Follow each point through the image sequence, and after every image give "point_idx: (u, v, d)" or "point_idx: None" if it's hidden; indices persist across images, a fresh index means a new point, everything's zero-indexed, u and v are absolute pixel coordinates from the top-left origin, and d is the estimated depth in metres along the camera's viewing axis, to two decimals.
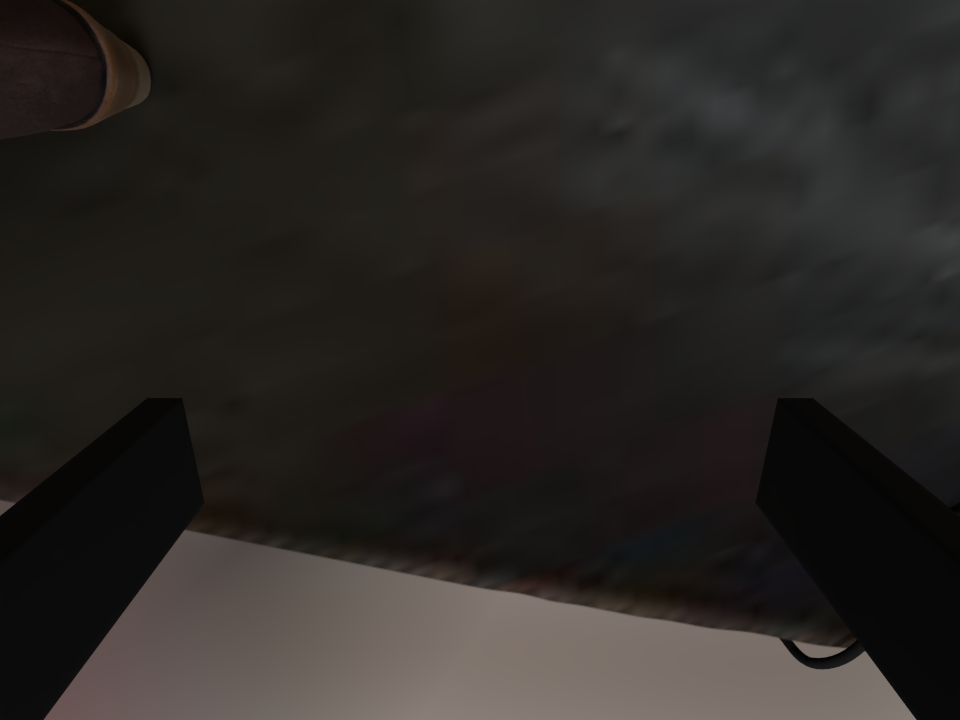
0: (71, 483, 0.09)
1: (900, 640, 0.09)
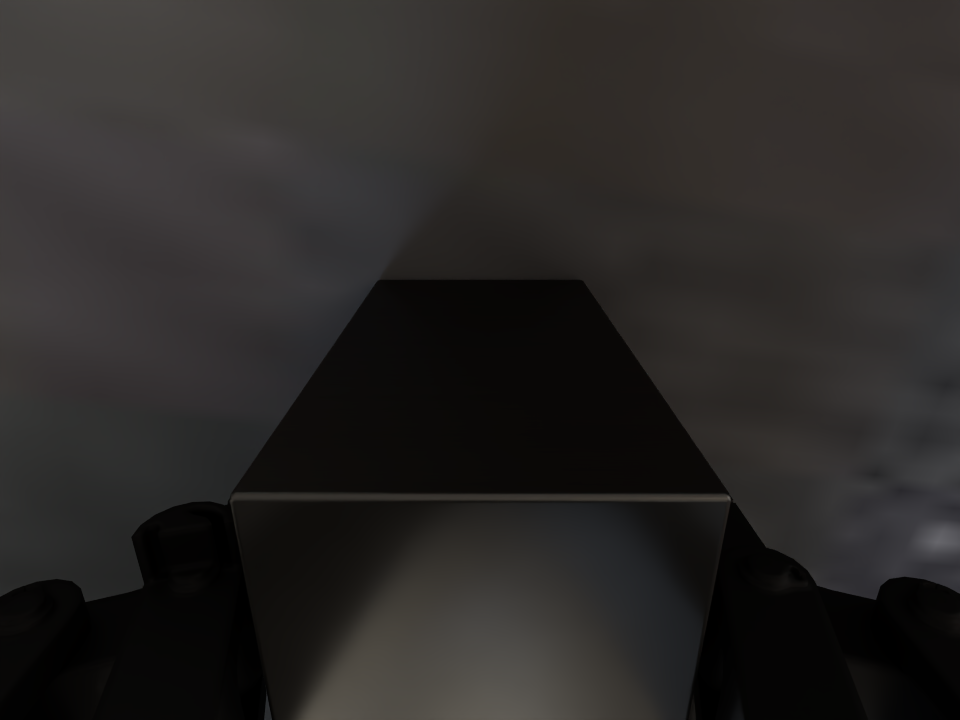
0: None
1: None
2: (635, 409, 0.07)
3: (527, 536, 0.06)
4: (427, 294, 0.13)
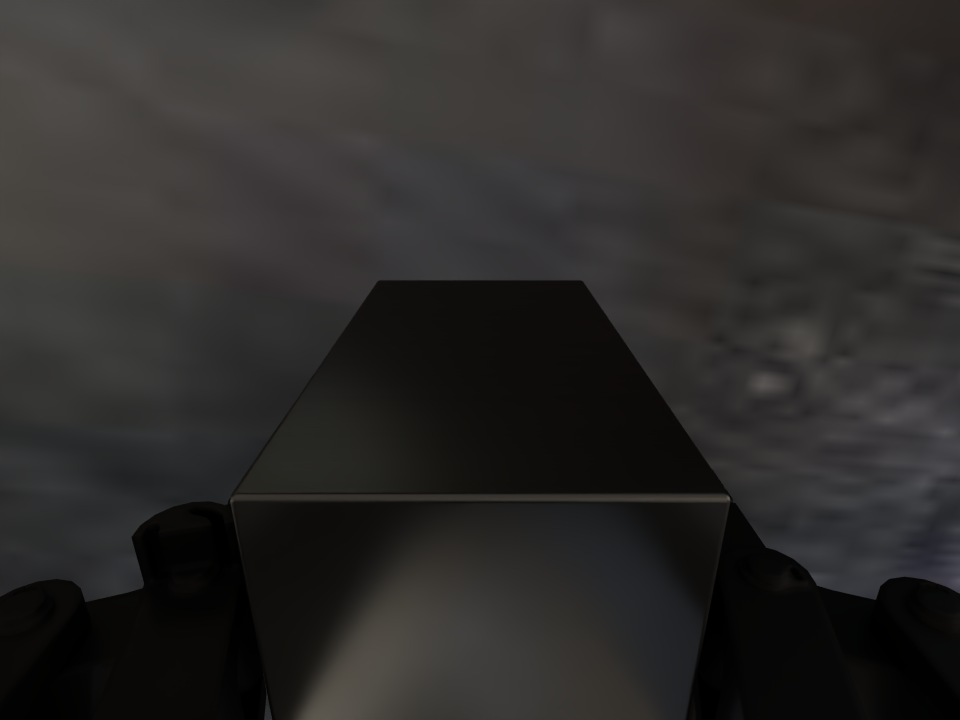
0: None
1: None
2: (635, 410, 0.07)
3: (526, 538, 0.06)
4: (427, 294, 0.13)
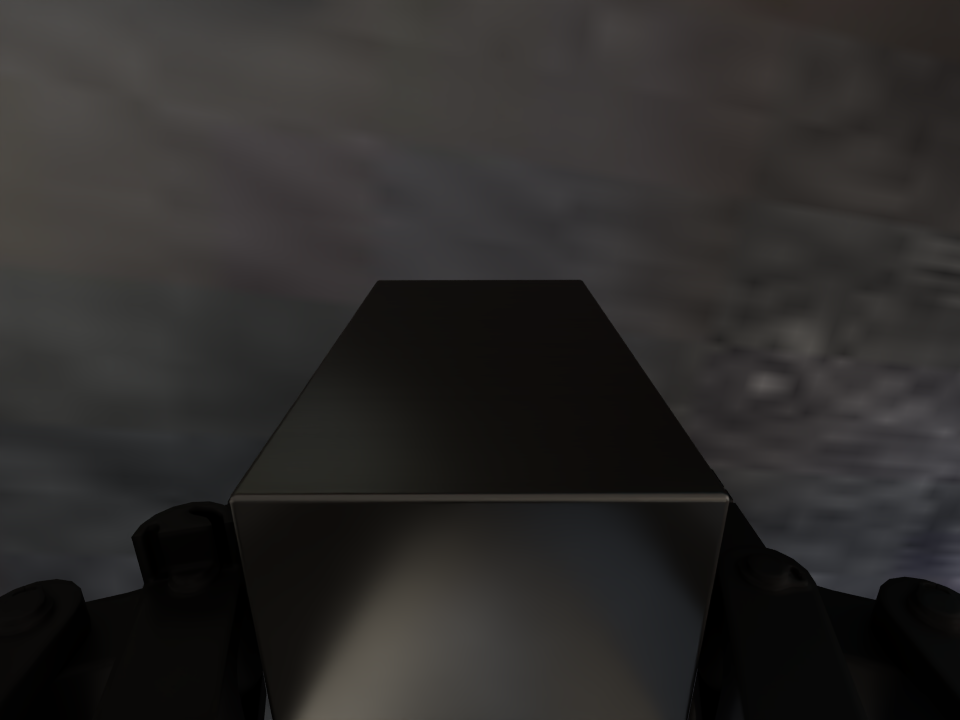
0: None
1: None
2: (634, 409, 0.07)
3: (525, 536, 0.06)
4: (427, 294, 0.13)
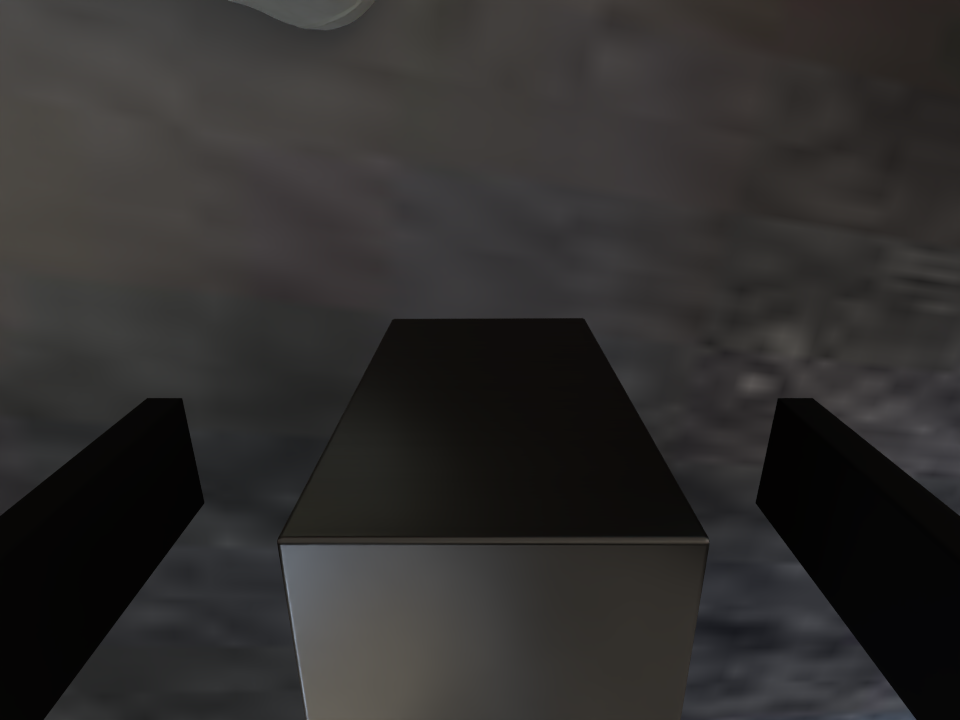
0: (71, 483, 0.09)
1: (900, 640, 0.09)
2: (629, 455, 0.08)
3: (533, 573, 0.07)
4: (439, 334, 0.14)
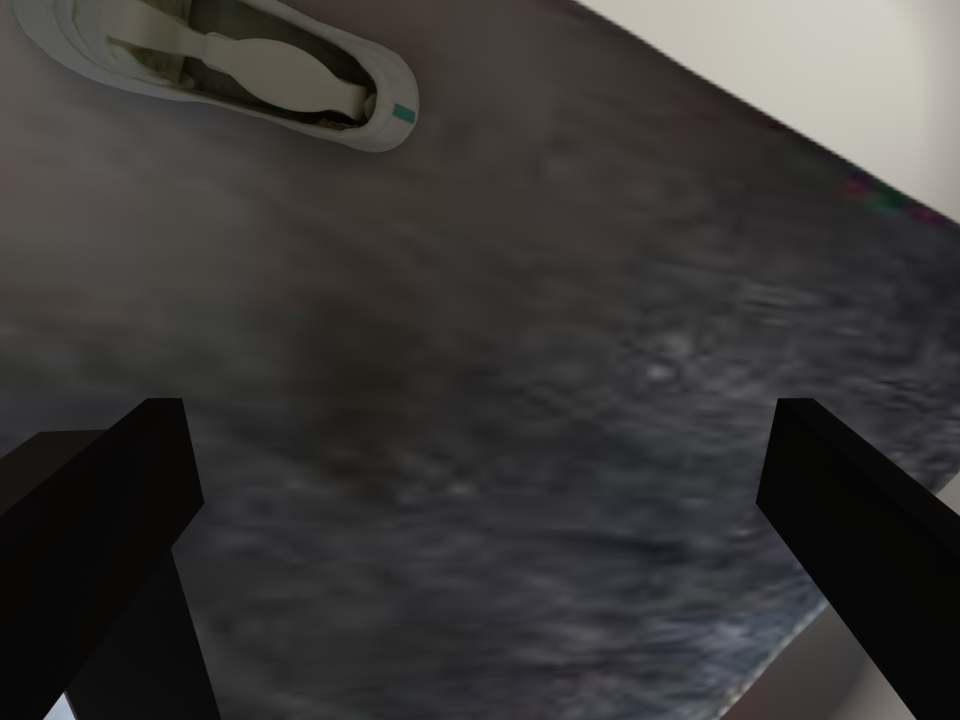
0: (71, 483, 0.09)
1: (900, 640, 0.09)
2: None
3: None
4: (46, 443, 0.28)
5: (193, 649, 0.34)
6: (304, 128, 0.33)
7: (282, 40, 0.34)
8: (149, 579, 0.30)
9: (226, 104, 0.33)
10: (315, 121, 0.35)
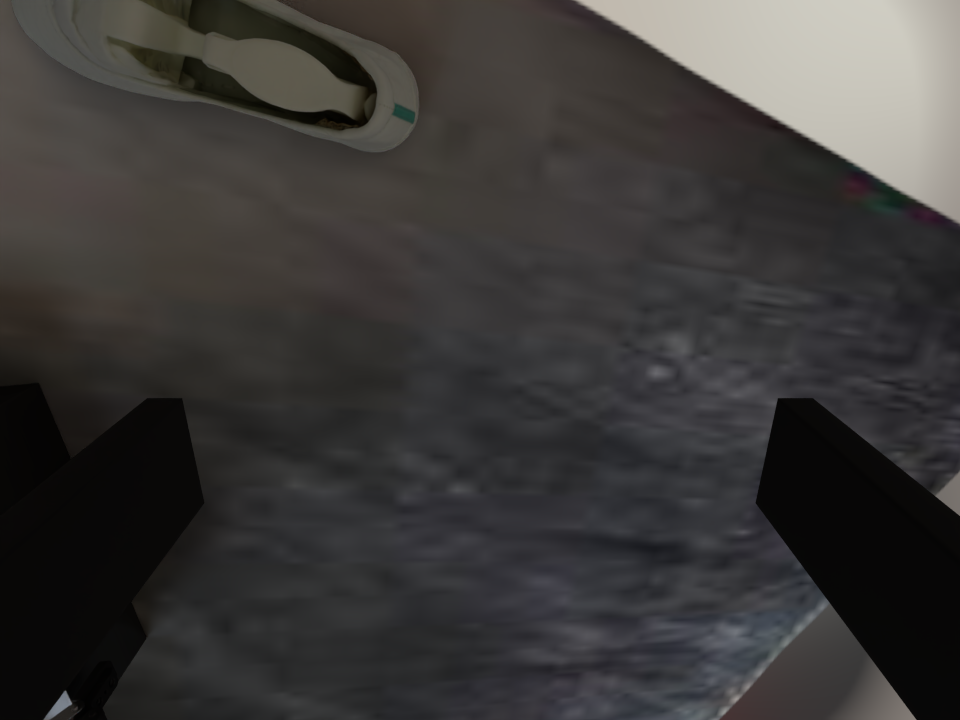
0: (71, 483, 0.09)
1: (900, 640, 0.09)
2: None
3: None
4: None
5: None
6: (304, 128, 0.33)
7: (282, 40, 0.34)
8: None
9: (226, 104, 0.33)
10: (315, 121, 0.35)
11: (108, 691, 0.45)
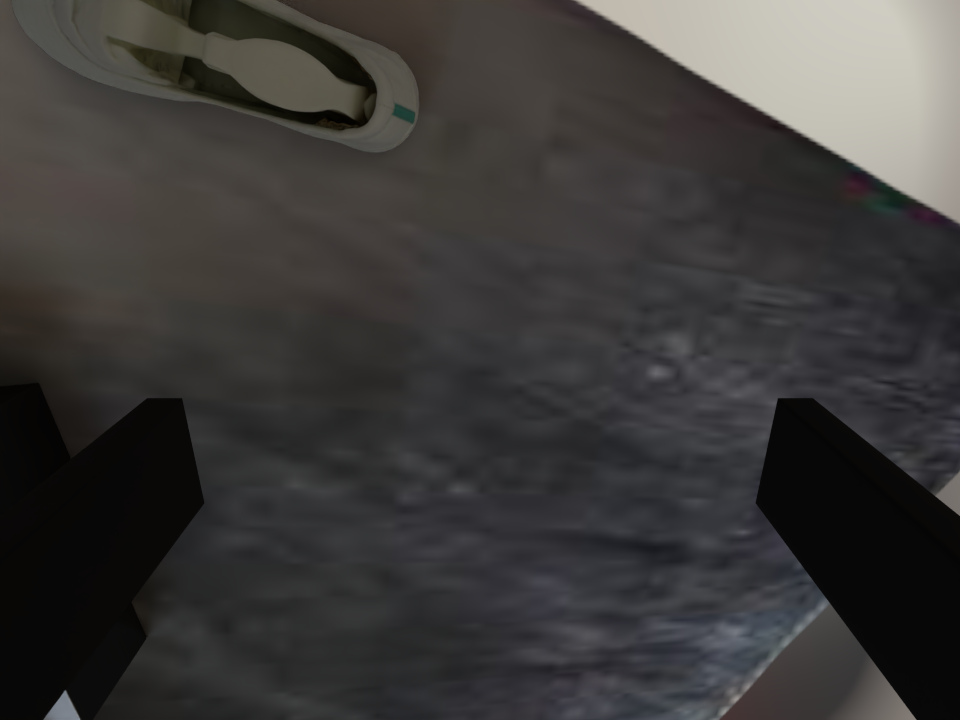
0: (71, 483, 0.09)
1: (900, 640, 0.09)
2: None
3: None
4: None
5: None
6: (304, 128, 0.33)
7: (282, 40, 0.34)
8: None
9: (226, 104, 0.33)
10: (315, 121, 0.35)
11: None
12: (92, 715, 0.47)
